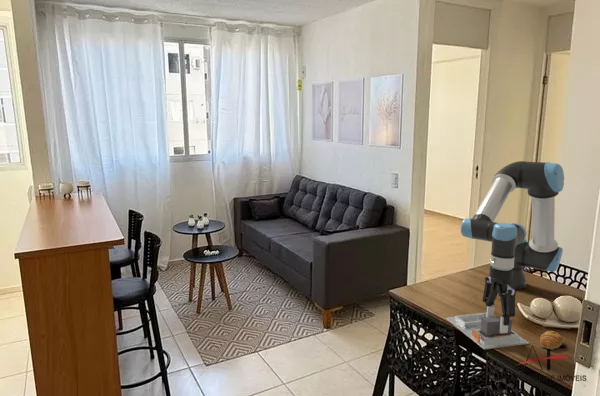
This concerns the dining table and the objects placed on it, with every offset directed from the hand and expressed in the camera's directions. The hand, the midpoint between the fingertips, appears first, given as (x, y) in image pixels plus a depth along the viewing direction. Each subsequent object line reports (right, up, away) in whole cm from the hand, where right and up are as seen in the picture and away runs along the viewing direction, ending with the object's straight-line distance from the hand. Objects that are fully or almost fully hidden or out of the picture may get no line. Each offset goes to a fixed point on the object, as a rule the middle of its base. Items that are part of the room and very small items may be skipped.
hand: (496, 327), depth 154 cm
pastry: (+18, -5, -3) cm, 19 cm away
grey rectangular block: (0, -4, +1) cm, 4 cm away
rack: (-1, -3, +7) cm, 7 cm away
